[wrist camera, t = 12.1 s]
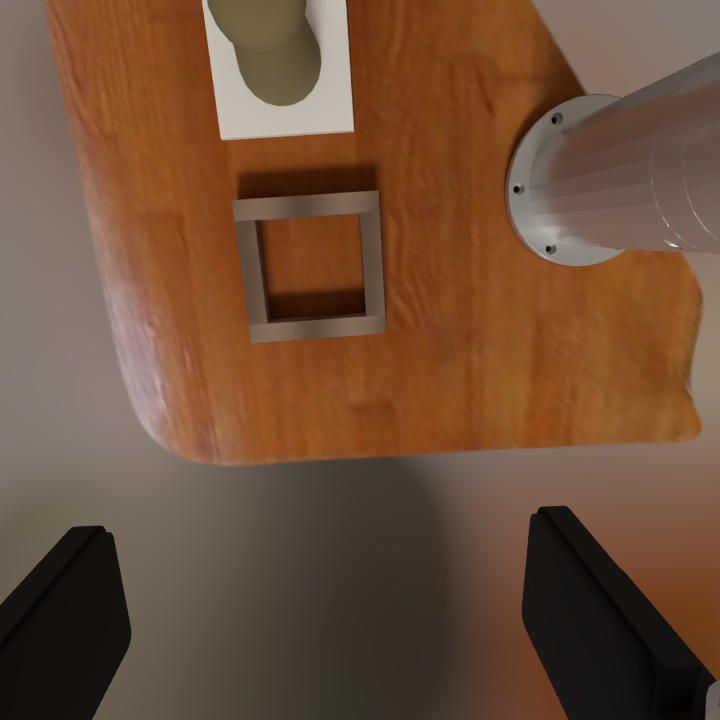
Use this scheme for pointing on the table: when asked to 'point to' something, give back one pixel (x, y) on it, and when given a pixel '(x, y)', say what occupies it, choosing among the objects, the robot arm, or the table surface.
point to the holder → (255, 276)
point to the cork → (271, 47)
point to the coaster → (310, 116)
